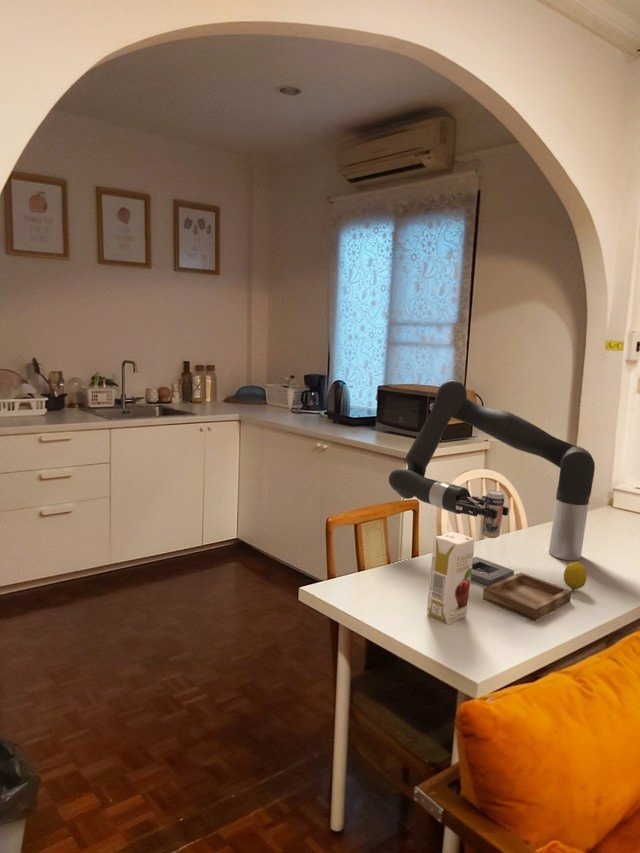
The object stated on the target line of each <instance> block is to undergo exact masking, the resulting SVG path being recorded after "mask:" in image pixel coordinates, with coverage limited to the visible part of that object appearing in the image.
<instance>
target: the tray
mask: <svg viewBox="0 0 640 853" xmlns="http://www.w3.org/2000/svg"><path fill="white" fill-rule="evenodd" d="M572 591H573V590H572V589H571V590H570V589H568V588H565V587H563V586H560V585H557V584H553V583H551V582H549V581H545V580H544V579H540V578H537V577H534V576H533V575H529V574H527V573H524V572H518V573H516V574H514V575H513V576H511V577H509V578H506V579H504V580H502V581H499V582H497V583H495V584H492V585H490V586H488V587H486V586H484V587H483V588H482V599H481V600H482V601H483V602H484V601H485V602H487V603H489V604H491V605H494V606H496V607H499V608H501V609H503V610H506V611H508V612H510V613H513V614H515V615H517V616H520V617H523V618H525V619H527V620H529V621H533V622H536V621H538V620H540V619H542V618H544V617H546V616H547V615H549V614H551V613H553V612H555V611H557V610H559V609H560V608H562V607H565V606H566V605H567V604H569V603H571V598H572Z"/></svg>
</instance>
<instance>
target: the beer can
mask: <svg viewBox="0 0 640 853" xmlns="http://www.w3.org/2000/svg"><path fill="white" fill-rule="evenodd" d="M485 496H486V497H485V505H484V507H487V508H490V509H493V510H496V511H497V512H498V514H497V518H496V519H493V518H489V517H486V516H482V523H481V532H480V533H481V534H482V535H483V537H485V538H489V539H496V538H499V537H500V536H501V527H502V520H503V515H502V513H503V506H505V505H504V504H505V503H504V502H505V496H504V493H503V492H501V491H499V490H498V491H497V490H488V491H487V493H486V494H485Z"/></svg>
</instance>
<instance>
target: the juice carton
mask: <svg viewBox="0 0 640 853" xmlns="http://www.w3.org/2000/svg"><path fill="white" fill-rule="evenodd" d="M433 541H434V542H433V546H432V554H431V555H432V556H431V565H430V573H429V583H428V584H429V586H428V592H427V593H428V594H427V607H426V608H427V609H426V615H427V616H428V617H431V618H434V619H435V620H438V621H440V622H442V623H445V624H446V625H450V624H451V625H452V624H453V623H455V622H456V621H458V620H460V619H463V618H465V617H466V615H467V611H468V604H469V595H470V587H471V571H472V562H473V558H474V552H475V551H474V550H475V546H474V545H475V538H473V537H470V536H468V535H464V534H462V533H457V532H454V531H449V532H447V533H446V534H444V535H438V536H437V535H436V536H434V540H433Z"/></svg>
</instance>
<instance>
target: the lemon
mask: <svg viewBox="0 0 640 853" xmlns="http://www.w3.org/2000/svg"><path fill="white" fill-rule="evenodd" d="M587 578H588V577H587V570H586V568H585V566H584V565H583V564H582V563H580V562H579V561H578V560H575V561H572V562H570V563H569V564H567V565H566V567H565V569H564V572H563V581H564V583H565V585H566V586H567V587H568V588H570V589H571V591H576V590H579V589H582V588H583V587H584V586H585V584H586V582H587Z"/></svg>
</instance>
